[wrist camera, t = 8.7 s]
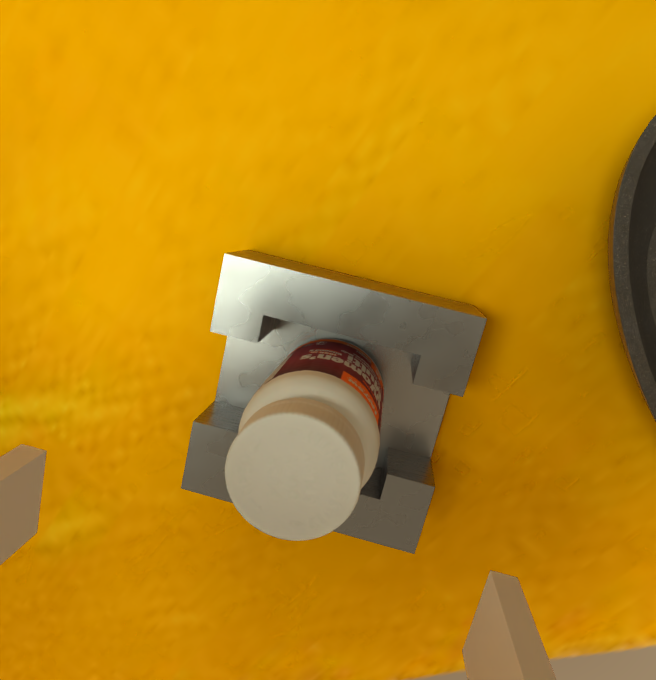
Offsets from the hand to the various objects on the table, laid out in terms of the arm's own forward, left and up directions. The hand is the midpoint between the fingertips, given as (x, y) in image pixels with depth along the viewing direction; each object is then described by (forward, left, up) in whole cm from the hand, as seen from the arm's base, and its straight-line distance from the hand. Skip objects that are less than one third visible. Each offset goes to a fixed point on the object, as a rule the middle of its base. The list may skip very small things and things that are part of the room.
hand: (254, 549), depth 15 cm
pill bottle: (0, 0, -16) cm, 16 cm away
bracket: (0, 0, -17) cm, 17 cm away
